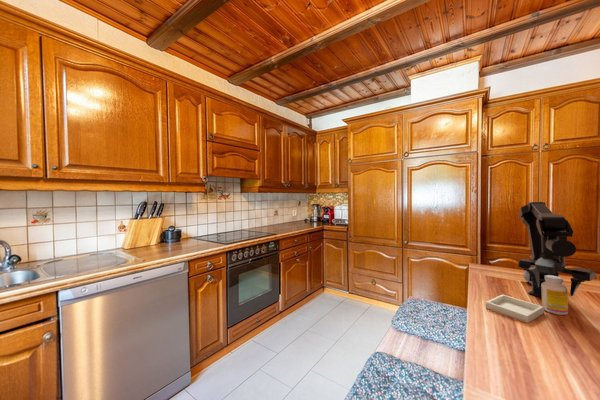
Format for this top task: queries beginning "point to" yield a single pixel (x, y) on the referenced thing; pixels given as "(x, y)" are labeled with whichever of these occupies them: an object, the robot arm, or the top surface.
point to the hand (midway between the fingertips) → (554, 291)
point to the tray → (515, 308)
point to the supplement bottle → (554, 295)
